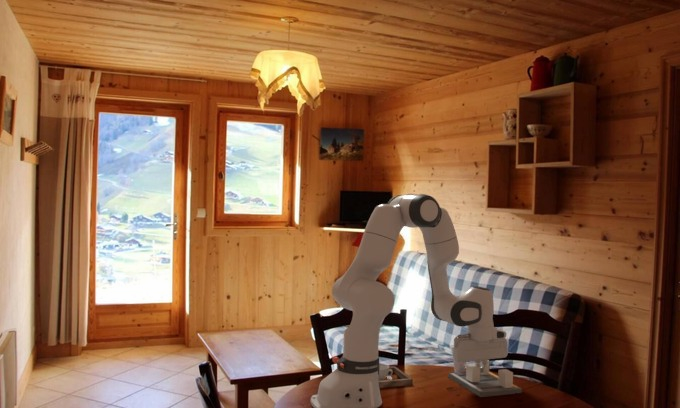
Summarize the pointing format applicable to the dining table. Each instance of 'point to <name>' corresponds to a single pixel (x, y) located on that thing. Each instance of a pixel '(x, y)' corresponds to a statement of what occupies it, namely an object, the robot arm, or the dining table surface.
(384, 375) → the teacup
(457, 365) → the smoothie
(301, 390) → the dining table surface
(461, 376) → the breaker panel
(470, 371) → the white rectangular block
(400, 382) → the square wooden tray
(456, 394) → the dining table surface
